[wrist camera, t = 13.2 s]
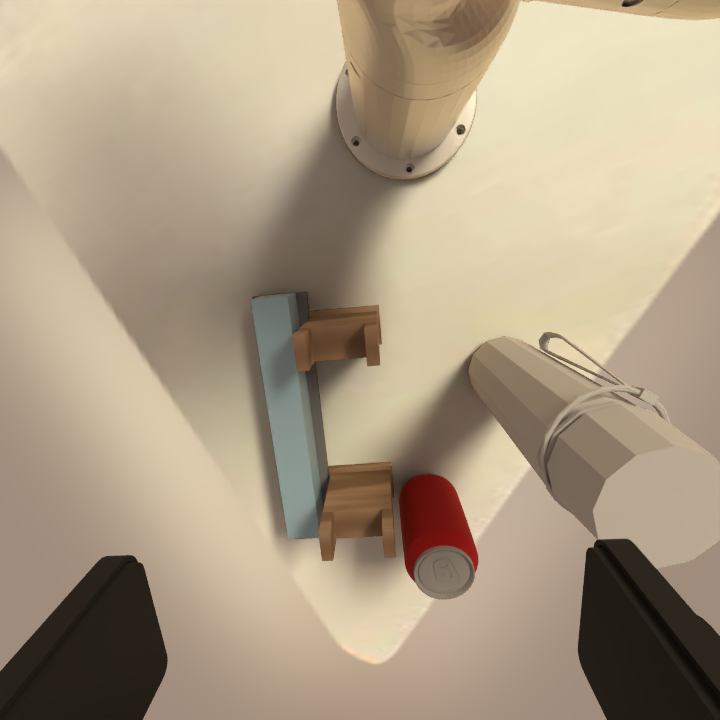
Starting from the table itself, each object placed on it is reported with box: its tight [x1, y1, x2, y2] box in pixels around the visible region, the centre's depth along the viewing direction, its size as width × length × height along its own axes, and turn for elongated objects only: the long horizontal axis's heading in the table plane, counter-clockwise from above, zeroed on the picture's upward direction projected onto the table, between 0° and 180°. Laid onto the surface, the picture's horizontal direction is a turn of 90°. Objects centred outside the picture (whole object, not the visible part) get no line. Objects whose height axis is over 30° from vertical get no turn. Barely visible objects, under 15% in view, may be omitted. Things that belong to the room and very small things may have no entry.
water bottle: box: [468, 332, 720, 568], centre depth 31 cm, size 9×8×25 cm
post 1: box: [292, 305, 382, 372], centre depth 37 cm, size 4×7×11 cm, turn 95°
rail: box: [250, 293, 324, 539], centre depth 43 cm, size 26×4×4 cm, turn 5°
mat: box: [252, 292, 329, 507], centre depth 45 cm, size 26×6×1 cm, turn 5°
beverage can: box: [399, 474, 478, 599], centre depth 41 cm, size 7×7×12 cm
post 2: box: [319, 462, 396, 561], centre depth 42 cm, size 4×7×11 cm, turn 95°
